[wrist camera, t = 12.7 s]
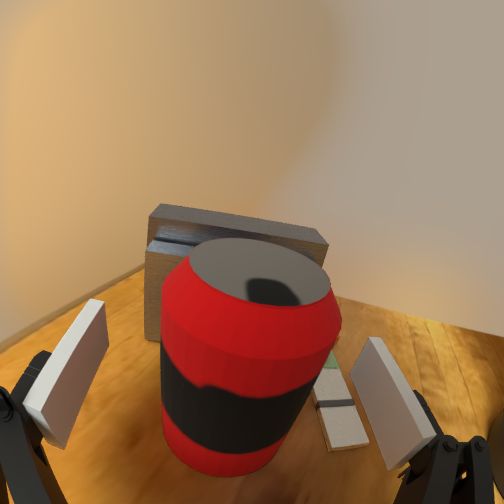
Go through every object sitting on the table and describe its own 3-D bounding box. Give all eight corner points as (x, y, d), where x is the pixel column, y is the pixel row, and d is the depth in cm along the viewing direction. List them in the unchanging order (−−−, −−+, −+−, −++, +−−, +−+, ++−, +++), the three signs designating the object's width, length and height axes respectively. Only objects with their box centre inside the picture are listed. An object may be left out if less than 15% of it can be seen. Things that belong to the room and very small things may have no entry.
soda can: (162, 477, 12) (148, 314, 7) (165, 384, 18) (173, 223, 14) (290, 474, 13) (388, 325, 9) (266, 388, 20) (314, 241, 16)
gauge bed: (314, 320, 30) (343, 234, 26) (365, 446, 15) (445, 341, 12) (154, 300, 28) (160, 203, 24) (109, 435, 13) (75, 305, 9)
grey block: (314, 315, 31) (337, 248, 28) (333, 358, 24) (366, 282, 21) (160, 295, 28) (165, 220, 25) (144, 339, 22) (145, 250, 19)
